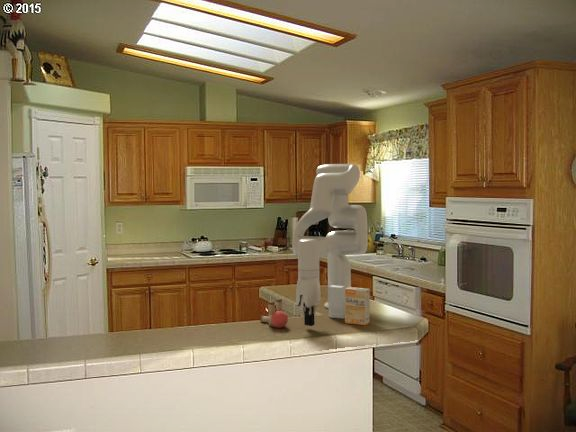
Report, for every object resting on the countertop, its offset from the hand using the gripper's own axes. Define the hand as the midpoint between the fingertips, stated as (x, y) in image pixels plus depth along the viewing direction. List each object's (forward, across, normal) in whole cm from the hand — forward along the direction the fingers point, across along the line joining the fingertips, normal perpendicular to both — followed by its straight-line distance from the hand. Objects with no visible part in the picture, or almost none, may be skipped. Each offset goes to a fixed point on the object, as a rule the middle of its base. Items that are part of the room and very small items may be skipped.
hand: (309, 325), depth 212 cm
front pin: (0, 0, -12) cm, 12 cm away
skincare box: (+2, -21, 0) cm, 21 cm away
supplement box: (+2, -16, +11) cm, 19 cm away
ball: (-2, +3, -10) cm, 11 cm away
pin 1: (+2, +2, -15) cm, 15 cm away
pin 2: (+2, -2, -14) cm, 15 cm away
